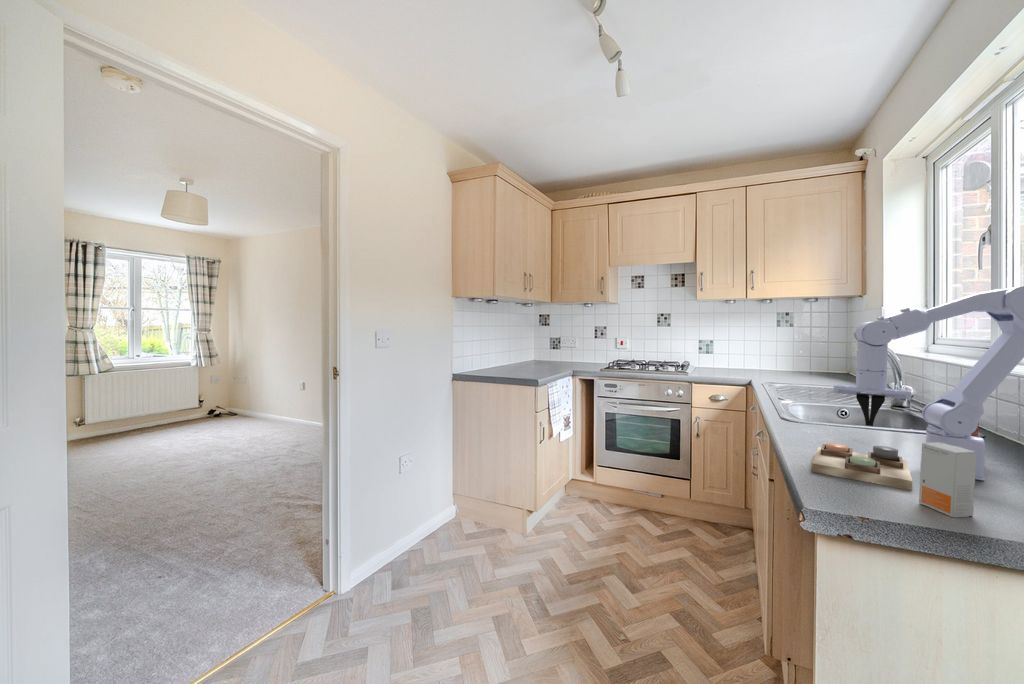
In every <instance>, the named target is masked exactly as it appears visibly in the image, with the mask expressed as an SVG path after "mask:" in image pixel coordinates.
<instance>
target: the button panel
mask: <svg viewBox="0 0 1024 684" xmlns="http://www.w3.org/2000/svg"><path fill="white" fill-rule="evenodd" d="M826 444H827V443H822V446H818V447H817V449H816V452H815V455H814V457H813V460H812V462H811V473H817V474H821V475H822V474H823V475H827V476H833V477H838V478H839V477H840V478H844V479H849V480H855V481H860V482H866V483H870V482H871V484H875V483H876V484H877V485H881V486H882V485H883V486H886V487H890V488H891V487H892V488H897V489H903V490H908V491H912V490H913V478H912V475H911V471H910V467H909V465H908V460H906V459H903V457H902V456H899V455H898V459H886V458H880V457H877V456H874V455H873V451H868V452H867V454H866V453H859V452H856V451H854V449H853V447H848V453H844V452H838V451H831V450H826ZM851 456H862V457H867V458H871V459H873V460H875V468H874V467H868V466H863V465H857V464H851V463H850V457H851Z"/></svg>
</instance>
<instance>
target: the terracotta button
mask: <svg viewBox="0 0 1024 684" xmlns="http://www.w3.org/2000/svg"><path fill="white" fill-rule="evenodd" d="M825 444H826V450H831V451H838V452H844V453H848V448H849V447H848V446H847V445H844V444H839V443H832V442H828V443H825Z"/></svg>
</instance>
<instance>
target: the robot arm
mask: <svg viewBox="0 0 1024 684" xmlns="http://www.w3.org/2000/svg"><path fill="white" fill-rule="evenodd" d="M899 311H900V312H897V313H896V312H895V313H894V314H891V315H887V316H883V315H881V316H878V317H876V319H877V320H874V321H866V322H863V323H861V324H859V325H858V326H857V327H856V329H855V331H854V332H853V337H854V340H856V341H857V351H856V374H855V377H856V378H855V385H841V384H840V385H839V384H834V385H832V386H833V388H832V389H833V390H832V391H833V392H832V393H833V394H837V395H838V394H843V395H844V394H845V395H855V396H856V402H858V404H859V407H860V409H861V411H862V414H863V416H864V422H865V426H869V427H874V422H875V419H876V417H877V414H878V412H879V410H880V409H881V408H882V406H883V404H884V403H885V402H886V401H885V400H886V398H891V399H900V400H901V399H903V400H909V401H912V395H913V394H912V390H907V389H898V388H897V389H896V388H887V383H888V382H887V381H888V380H887V378H888V359H889V357H888V354H889V353H888V346H889V345H888V344H889V343H890V342H891V341H892V340H897V339H900V338H905V337H908V336H912V335H914V334H918V333H922V332H925V331H927V330H928V329H929V327H930V325H931V324H932V323H935V322H939V321H943V320H947V319H950V318H955V317H958V316H962V315H965V314H969V313H973V312H976V313H977V312H978V313H986V314H987V315H988V316H990V317H991V318H992V319H993V320H994V321H995V322H996V323H997V325H998V327H999V329H1000V331H1001V334H1000V335H999V336H998V337H997V339H996V340H994V342H993V343H992V344H991V345H990V346H989V348H988V349H987V350H986V351H985V352H984V354H982V356H981V357H980V358H979V359H978V360H977V362H976V363H974V365H973V366H972V367H971V368H970V370H968V372H967V373H966V374H965V375H964V376H963V378H962V379H961V380H959V382H958V383H957V384H956V386H955V387H954V388H953V389H951V390H950V391H948V392H945V393H943V394H942V395H940V396H939V397H938V398H937V399H936V400H934V401H931V402H930V403H928V404H926V405H925V406H924V407H923V409H922V411H921V412H922V413H921V414H922V418H923V420H924V421H925V423H927V426H926V428H925V429H926V430H925V443H939V442H940V443H944V444H948V445H952V446H957V447H961V448H964V449H967V450H971V451H975V452H976V453H977V456H976V470H975V480H978V481H985V469H986V467H985V463H986V442H985V440H984V438H983V437H980V436H978V437H973V436H971V433H973V432H974V431H975V430H976V429H977V427H978V423H979V422H980V418H981V417H983V414H985V413H984V412H985V410H984V405H983V404H984V402H985V401H986V400H987V399H988V397H990V396H991V395H992V393H993V392H994V391H995V390H996V389H997V388H998V387H999V386H1000V385H1001V383H1002V382H1004V380H1005V379H1006V378H1007V376H1009V374H1011V372H1012V371H1014V369H1015V368H1016V367H1017V366H1018V365H1019V363H1020V362H1021V361H1022V360H1023V359H1024V285H1020V286H1016V287H1006V288H1004V287H1003V288H1002V287H1001V288H999V287H998V288H994V289H991V290H987V291H986V290H985V291H981V292H976V293H972V294H968V295H965V296H962V297H960V298H957V299H954V300H952V301H948V302H946V303H945V302H944V303H943V304H939V305H936V306H934V307H931V308H928V309H925V310H923V309H919V308H916V307H912V308H910V307H905V308H901V309H899ZM870 397H871V401H870ZM978 428H979V427H978Z"/></svg>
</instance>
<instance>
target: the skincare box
mask: <svg viewBox="0 0 1024 684" xmlns="http://www.w3.org/2000/svg"><path fill="white" fill-rule="evenodd" d="M920 456H921V457H920V458H921V459H920V473H919V474H920V475H919V477H920V478H919V491H918V492H919V493H918V494H919V495H918V504H920V505H922V506H926V507H928V508H930V509H933V510H934V511H936V512H937V511H938V512H939V513H941V514H944V515H946V516H948V517H951V518H953V517H955V518H970V517H969V516H972V517H973V516H974V502H975V487H976V486H975V485H976V479H975V470H976V456H977V453H976V452H975V451H971V450H967V449H964V448H961V447H957V446H952V445H948V444H944V443H940V442H939V443H926V442H922V444H921V455H920Z"/></svg>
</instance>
